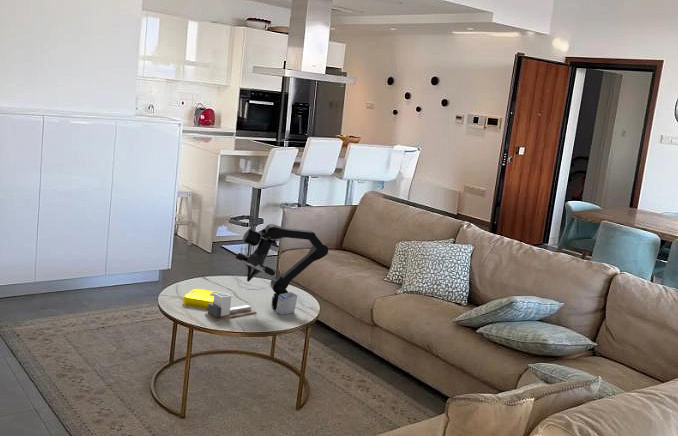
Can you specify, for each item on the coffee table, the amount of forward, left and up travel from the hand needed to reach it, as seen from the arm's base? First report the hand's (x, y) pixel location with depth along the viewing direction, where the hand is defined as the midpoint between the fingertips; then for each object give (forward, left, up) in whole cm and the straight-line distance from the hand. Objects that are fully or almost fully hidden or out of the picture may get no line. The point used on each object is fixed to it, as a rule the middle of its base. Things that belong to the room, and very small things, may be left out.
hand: (247, 281), depth 314 cm
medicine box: (-18, +4, -13) cm, 22 cm away
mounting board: (+7, +9, -13) cm, 17 cm away
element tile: (+19, -6, -13) cm, 24 cm away
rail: (+7, +9, -12) cm, 17 cm away
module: (+12, +12, -12) cm, 21 cm away
